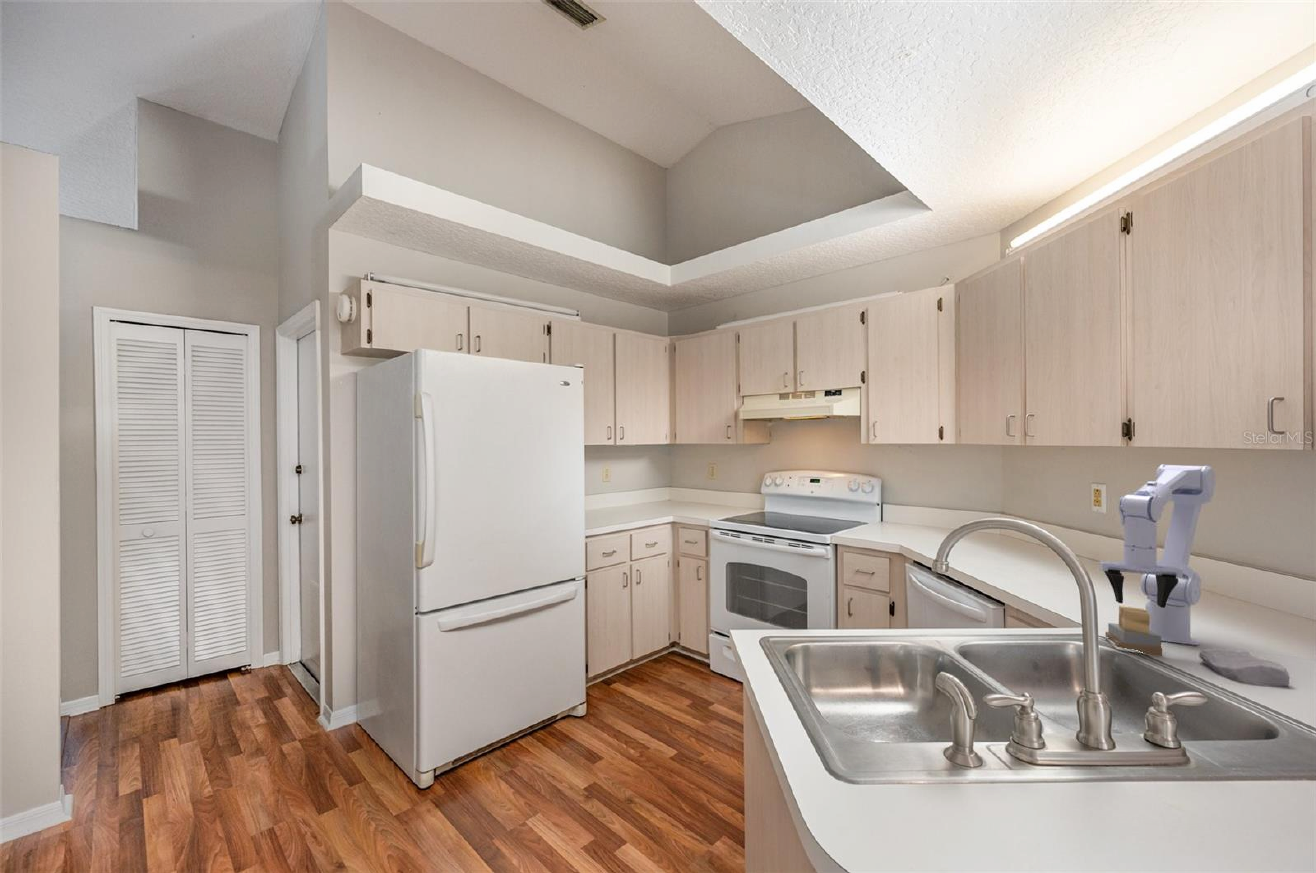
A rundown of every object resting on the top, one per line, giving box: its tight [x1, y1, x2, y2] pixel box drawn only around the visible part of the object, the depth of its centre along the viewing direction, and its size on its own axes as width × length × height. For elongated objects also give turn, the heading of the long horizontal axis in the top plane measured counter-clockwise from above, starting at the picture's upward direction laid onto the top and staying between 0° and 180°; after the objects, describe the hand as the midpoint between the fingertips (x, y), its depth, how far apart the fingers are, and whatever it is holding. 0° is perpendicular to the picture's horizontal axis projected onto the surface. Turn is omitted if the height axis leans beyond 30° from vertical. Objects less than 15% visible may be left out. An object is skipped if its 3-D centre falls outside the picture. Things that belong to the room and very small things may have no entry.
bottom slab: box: [1104, 631, 1163, 657], centre depth 126 cm, size 8×8×2 cm
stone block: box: [1198, 647, 1291, 687], centre depth 112 cm, size 12×5×10 cm
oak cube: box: [1118, 605, 1150, 633], centre depth 126 cm, size 4×4×4 cm
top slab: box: [1107, 622, 1162, 647], centre depth 126 cm, size 7×7×2 cm
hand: (1139, 604), depth 125 cm, fingers open, 7 cm apart
